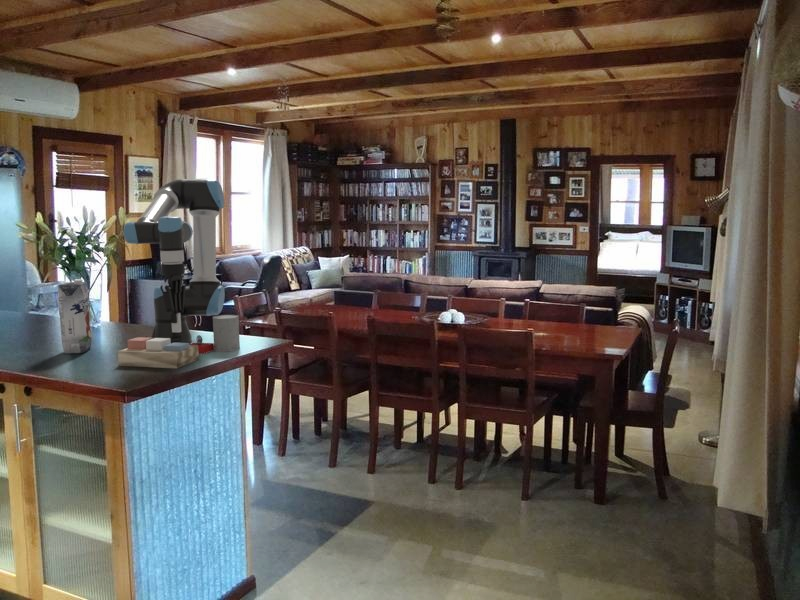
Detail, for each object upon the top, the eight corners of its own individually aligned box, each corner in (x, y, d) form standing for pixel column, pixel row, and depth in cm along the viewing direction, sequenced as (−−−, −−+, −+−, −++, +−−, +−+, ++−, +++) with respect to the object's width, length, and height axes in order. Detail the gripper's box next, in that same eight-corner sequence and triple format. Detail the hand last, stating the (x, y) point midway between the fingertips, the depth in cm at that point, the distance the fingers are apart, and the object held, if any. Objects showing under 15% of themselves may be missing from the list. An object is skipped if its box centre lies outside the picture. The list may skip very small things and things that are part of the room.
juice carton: (60, 354, 258) (55, 281, 255) (69, 348, 268) (64, 278, 265) (86, 353, 260) (81, 280, 256) (93, 347, 270) (89, 277, 266)
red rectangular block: (213, 350, 264) (213, 333, 263) (205, 354, 257) (204, 337, 256) (194, 349, 265) (193, 333, 264) (185, 353, 259) (184, 336, 258)
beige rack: (143, 357, 252) (142, 343, 251) (198, 359, 247) (198, 345, 246) (118, 365, 238) (117, 351, 238) (177, 368, 233) (176, 353, 233)
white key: (156, 346, 245) (155, 337, 245) (170, 346, 244) (170, 338, 244) (146, 349, 240) (145, 340, 239) (161, 350, 238) (161, 341, 238)
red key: (137, 345, 247) (137, 337, 247) (152, 346, 246) (152, 337, 245) (127, 348, 241) (127, 340, 241) (142, 349, 240) (142, 340, 240)
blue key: (174, 351, 244) (174, 342, 244) (189, 351, 243) (189, 343, 242) (165, 354, 238) (164, 345, 238) (180, 355, 237) (180, 346, 237)
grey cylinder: (225, 345, 271) (223, 314, 270) (245, 347, 267) (243, 315, 265) (208, 350, 263) (206, 317, 261) (228, 352, 258) (227, 319, 257)
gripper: (173, 260, 244) (177, 327, 247) (151, 264, 231) (156, 335, 235) (192, 261, 242) (196, 328, 245) (172, 265, 229) (176, 336, 233)
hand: (176, 331), depth 240 cm, fingers closed
